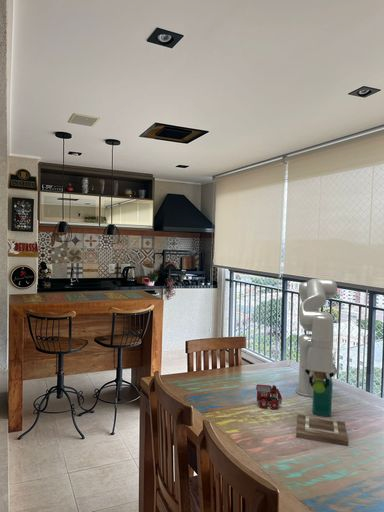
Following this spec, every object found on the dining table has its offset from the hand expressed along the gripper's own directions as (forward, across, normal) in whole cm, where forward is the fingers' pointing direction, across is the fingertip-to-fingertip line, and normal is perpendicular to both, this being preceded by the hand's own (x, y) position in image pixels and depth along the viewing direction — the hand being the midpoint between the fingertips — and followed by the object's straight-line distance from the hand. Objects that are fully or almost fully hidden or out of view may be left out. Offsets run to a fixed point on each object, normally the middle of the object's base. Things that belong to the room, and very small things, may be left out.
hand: (318, 385), depth 164 cm
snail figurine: (+3, -1, 0) cm, 3 cm away
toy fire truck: (+20, -23, +17) cm, 35 cm away
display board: (+19, +2, 0) cm, 19 cm away
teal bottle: (+20, +1, +20) cm, 28 cm away
